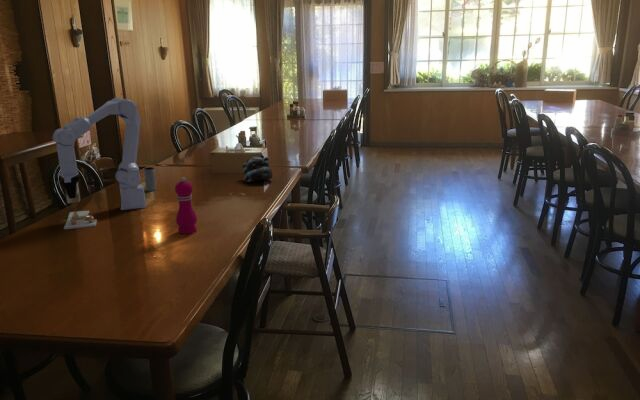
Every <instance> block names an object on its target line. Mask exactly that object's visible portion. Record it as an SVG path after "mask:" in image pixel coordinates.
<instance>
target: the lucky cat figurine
mask: <svg viewBox="0 0 640 400" xmlns="http://www.w3.org/2000/svg"><path fill="white" fill-rule="evenodd" d="M241 166H242V167H241V168H242V170H243V174H244V176H243V180H244V182H245V181H246V183H245V184H248V183H247V182H249V183H252V182H257V181H256V180H258V181H263V180H264V179H269V180H270V179H273V171H272V170H271V168H270V159H269V157H266V156H265V155H263V154H260V155H259V156H254V157H252V158H248V159H247V161H246V162H244V163H243V164H242V165H241ZM264 181H265V180H264Z"/></svg>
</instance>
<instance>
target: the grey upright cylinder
mask: <svg viewBox="0 0 640 400" xmlns="http://www.w3.org/2000/svg"><path fill="white" fill-rule="evenodd" d="M143 173H144V183H145V190H146V192H155V191H157V182H156V173H155V167H152V166H151V167H149V166H148V167H144V168H143Z"/></svg>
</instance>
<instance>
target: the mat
mask: <svg viewBox="0 0 640 400" xmlns="http://www.w3.org/2000/svg"><path fill="white" fill-rule="evenodd" d="M74 212H75V211H70V212H69V214H68V217H67V219H68V218H72V216H73V213H74ZM76 212H77V213H78V216H79V217H80V216H89V213H90V210H79V211H76Z"/></svg>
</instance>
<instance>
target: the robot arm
mask: <svg viewBox="0 0 640 400" xmlns="http://www.w3.org/2000/svg"><path fill="white" fill-rule="evenodd" d="M111 115H115V116H118V117H119V118H120V119H122V121H124V123H125V130H124V139H123V140H124V141H123V149H122V150H123V151H122V161H121V162H120V164H119V165H118V169H117V171H116V172H115V180H116V181H117V182H118V183H119V191H120V192H119V193H120V199H121V205H120V210H121V211H125V210H134V209H135V210H137V209H145V208H146V203H147V198H146V197H145V195H146V194H145V189H144V188H145V187H144V184H140V182H141V175H140V168H139V166H138V164H137V158H138V148H139V140H140V139H139V138H140V132H141V131H140V130H141V122H142V121H141V117H140V114H139V111H138V105H137V104H136V103H135V102H134V101H133V100H132V99H129V98H119V97H113V98H112V99H111V100H108V101H106V102H105V103H104V104H103V105H101V106H100V107H99V108H96V110H94V111H92V112H91V113H89V114H88V115H87V116H86V117H84V116H79V117H78V116H77V117H73V121H71V122H70V123H68V124H64V125H63V126H62V127H63V128H62V127H61V128H57V129H55V131H54V133H53V134H52V135H53V136H51V138H52V140H53V142H55V145H56V149H57V150H56V152H57V156H58V157H57V159H58V165H59V169H60V172H59V173H57V176H58V177H61V178H62V179H61V180H60V183H61V185H62V186H63V188H64V189H65V190H66V191H65V193H66V192H67V194H68V197H69V199H71V198H76V185H77V182H78V183H79V181H80V177H81V175H80V173H79V171H78V164H77V158H76V157H77V156H76V152H75V151H76V149H75V142H76V140H77V139H78V138H80V137H81V136H83V135H85V134H86V133H88V132H89V131H91V129H92V125H94V124H95V123H98V122H99V121H101V120H103V119H104V118H106V117H107V116H111Z"/></svg>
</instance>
